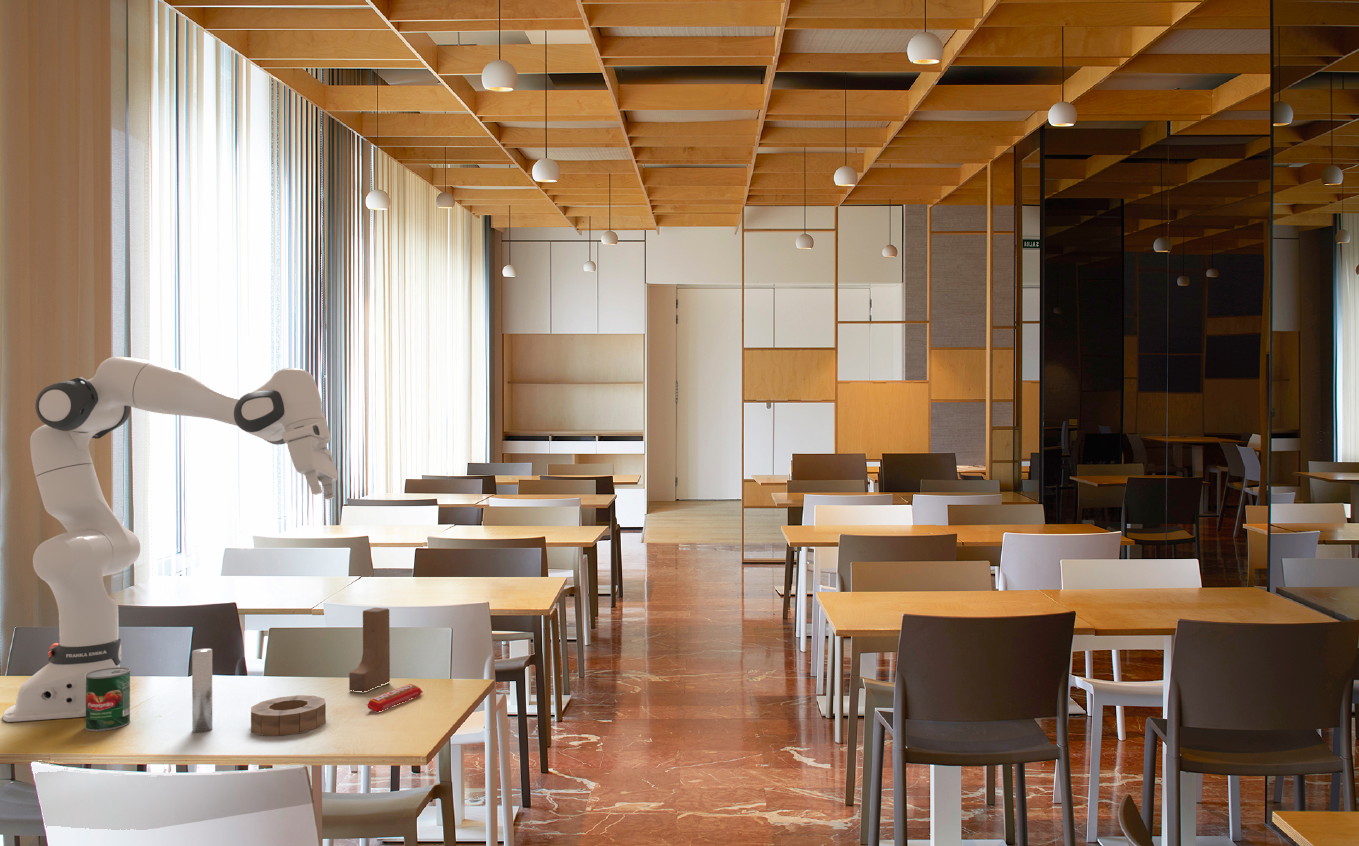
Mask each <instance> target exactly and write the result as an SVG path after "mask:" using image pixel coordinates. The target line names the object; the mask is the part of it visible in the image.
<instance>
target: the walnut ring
mask: <svg viewBox="0 0 1359 846" xmlns="http://www.w3.org/2000/svg"><path fill="white" fill-rule="evenodd" d="M326 706H327V704H326V698H325V697H321V696H316V695H304V694H303V695H302V694H301V695H298V694H297V695H296V694H295V695H289V696H281V697H280V696H279V697H276V698H271V699H266V700H263V701H260V702H258V703H256V704H254V705H252V706H251V708H250V732H251V733H253V734H257V735H259V736H263V737H264V736H266V737H267V736H270V737H272V736H273V737H282V736H287V735H289V736H290V735H296V734H297V735H298V734H301V733H305V732H309V731H313V730H316V729H317V728H318V729H319V728H320V727H321V726H323V725H324V724H326V720H327V719H326V718H327V717H326V716H327V714H326V713H327V712H326V711H327V710H326Z"/></svg>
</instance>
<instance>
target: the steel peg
mask: <svg viewBox="0 0 1359 846" xmlns="http://www.w3.org/2000/svg"><path fill="white" fill-rule="evenodd" d="M191 656H192V657H191V661H192V662H191V664H192V665H191V667H192V668H191V675H192V676H191V677H192V678H191V681H192V682H191V683H192V689H191V691H192V693H191V696H192V697H191V699H192V700H191V701H192V703H191V704H192V707H191V709H192V712H191V713H192V715H191V716H192V720H191V721H192V723H191V724H192V727H191V728H192V732H193V733H194V732H196V733H197V734H199V733H201V732H202V733H207V732H210V731H212V730H213V648H198V649H193V650H192V652H191ZM196 733H195V734H196Z"/></svg>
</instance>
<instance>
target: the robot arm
mask: <svg viewBox="0 0 1359 846" xmlns="http://www.w3.org/2000/svg"><path fill="white" fill-rule="evenodd" d="M94 374H95V375H94V376H93V377H92V378H89V379H86V378H84V377H83V376H81V377H80V376H79V377H74V378H73V379H72V378H71V379H68V380H63V381H59V382H56V383H52V384H50V385H48V386H46V387H44V388H43V389H42V390H41V391H39V393H38V395H37V397H36V400H35V404H34V405H35V413H36V415H37V417H38V418H39V420H40V421H41V422H42V423H43V425H41V426H38V428H36V429H35V430H34V431H33V432H32V433H31V436H30V439H29V446H30V447H29V448H30V457H31V464H32V468H33V473H34V476H35V480H36V483H37V487H38V489H39V490H38V491H39V493H40V496H41V497H40V498H41V500H42V504H43V507H44V510H45V511H46V513H48V514H49V515H50V516H51V517H53V518H55V519H56V520H58V521H59V523H60V524H61V525H62V526H63V527H64V528H65V530H66V531H67V532H64V533H60V534H57V535H55V536H53V537H51V538H49V539H47V540H44V541H43V542H41V543H40V544H39V545H38V546H37V548H35V551H34V553H33V556H32V567H33V569H34V572H35V574H36V575H37V576H38V577H39V578H40V580H42V581H44V582H45V583H46V584H47V585H48V586H49V588H50V590H51V591H52V594H53V596H54V600H55V602H56V606H57V610H58V625H59V627H58V629H59V643H58V642H54V643H52V645H50V647H49V649H48V653H47V659H48V663H47V664H46V665H44V666H43V667H42V668H41V669H39V670H38V671H36V672H35V673H34V674H33V675H32V676H30V677H29V678H28V679H26V680H25V681H24V682H23V683H22V684H21V685H20V688H19V690H18V693H17V695H16V701H15V704H13V705H11V706H9V707H7V709H5V710H4V712H3V715H2V719H3V721H4V722H7V723H10V722H12V723H13V722H28V721H41V720H53V719H55V720H57V719H70V718H82V717H86V674H87V673H89V672H92V671H95V670H100V669H106V668H115V667H121V666H120V665H121V662H122V642H121V640H122V639H121V638H120V637H119V605H118V602H117V601H116V600H115V599H113V598H112V597H111V596H110V595H109V593H108V592H107V589H106V585H105V583H104V577H105V576H110V575H114V574H118V573H120V572H121V571H123V570H125V569H128V568H129V567H131V566H132V565H134V563H136V561H137V560H138V558H139V556H140V553H141V543H140V540H139V537H138V536H137V535H136V534H135V533H134V532H133V531H132V530H130V529H128V528H127V527H126V526H125V525H123V524H122V522H121V521H120V520H119V519H118V517H117V516H116V514H115V513H114V512H113V510H112V509H111V507H110V506H109V504H108V502H107V500H106V499H105V496H104V493H103V491H102V488H101V485H100V481H99V479H98V476H97V475H98V474H97V472H96V469H95V465H94V462H93V459H92V456H91V452H90V442H91V440H92V439H97V440H98V439H99V440H100V439H102V438H103V437H104V436H106V435H107V434H110V432H112V431H114V430H116V429H118V428H119V427H122V425H124V424H125V423H126V422H127V420H128V419H129V417H130V415H131V409H132V408H135V409H138V410H141V411H145V412H152V413H155V414H156V413H157V414H162V415H164V414H165V415H173V416H184V417H195V418H203V419H210V420H215V421H219V422H222V423H225V424H229V425H233V426H237V427H238V428H239V429H241V430H242V431H244V432H246V433H248V434H250V435H252V436H255V437H257V438H260V439H262V440H264V441H265V442H267V443H269V444H271V445H285V444H287V448H288V452H289V454H290V455H289V456H290V458H291V461H292V464H293V467H294V468H295V470H296V472H297V473H299V474H300V475H304V476H305V480H306V482H307V483H308V486H309V487H310V491H311V494H312V495H315V496H316V495H319V494H322V493H323V496H324V499H325V500H327V501H329V500H333V499H334V498H335V492H334V482H335V481H338V478H339V475H338V470H337V467H336V464H335V462H334V457H333V455H332V452H331V450H330V449H329V448H328V445H327V444H329V443H330V442H331V441H332V438H331V433H330V430H329V426H328V425H329V424H328V421H327V419H326V417H325V414H324V413H323V410H322V405H323V404H322V399H321V396H320V392H319V388H318V385H317V384H316V380H315V378H314V376H313V375H312V373H310V372H309V371H307V370H306V369H303V368H296V367H290V368H289V367H288V368H282V369H279V370H277V371H276V372H274V373H273V375H272V377H271V378H270V379H269V380H268V381H267V382H265V383H264V384H263V385H261V386H260V387H258V388H257V389H255V390H254V391H251V392H249V393H246V394H244V395H243V396H241V397H240V398H239V397H236V396H233V395H232V396H231V395H230V394H225V393H222V392H220V391H217V390H216V389H214V388H212V387H210V386H207V385H206V384H205V383H204V382H203V383H202V382H201V381H200V380H198V379H196V378H195V377H193V376H191V375H189V374H188V373H185V372H183V371H181V370H179V369H177V368H175V367H173V366H170V365H167V364H165V363H160V362H157V361H152V360H150V359H149V360H148V359H143V358H137V357H129V356H112V357H111V356H110V357H108V358H106V359H104V360H103V361H102V362H101V363H100V364H99V365H98V367H97V369H96V371H95V373H94ZM320 484H321V485H322V486H321V485H320ZM322 487H323V490H322Z"/></svg>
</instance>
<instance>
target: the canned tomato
mask: <svg viewBox="0 0 1359 846" xmlns="http://www.w3.org/2000/svg"><path fill="white" fill-rule="evenodd" d="M130 718H131V668H129V667H125V666H124V667H123V666H122V667H121V666H120V667H115V668H106V669H100V670H95V671H92V672H89V673H87V674H86V716H85V727H84V728H85V731H88V732H106V730H107V731H111V730H117V729H120V728H119V727H121V728H123V726H124V727H126V726H127V724H128V725H129V724H130V723H131V719H130ZM125 725H126V726H125Z"/></svg>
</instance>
